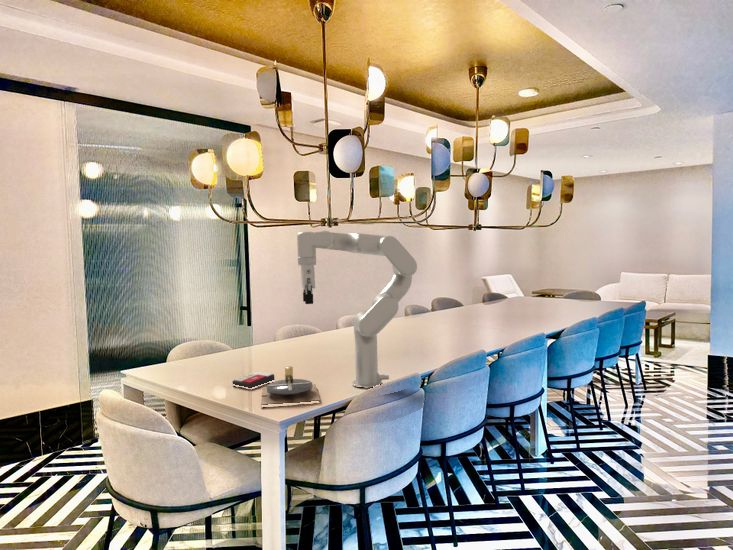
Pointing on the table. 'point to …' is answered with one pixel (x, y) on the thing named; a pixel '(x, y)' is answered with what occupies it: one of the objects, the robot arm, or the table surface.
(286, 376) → the handwheel
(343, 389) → the table surface
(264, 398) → the valve base
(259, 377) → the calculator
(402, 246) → the robot arm
